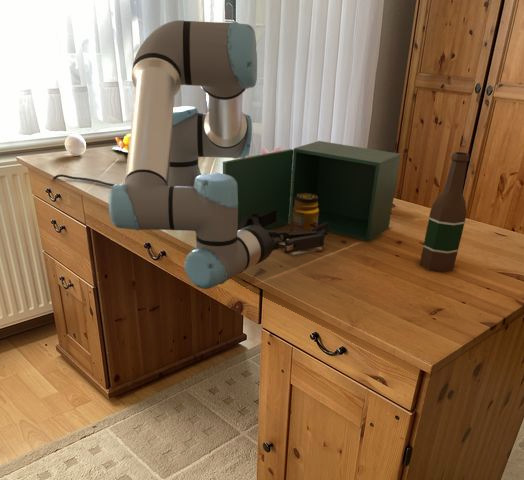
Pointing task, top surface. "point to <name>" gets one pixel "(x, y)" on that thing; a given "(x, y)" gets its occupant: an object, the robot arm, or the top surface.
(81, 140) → the white egg
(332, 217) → the green open cabinet
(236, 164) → the green cabinet door
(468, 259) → the top surface
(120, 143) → the yellow and blue toy
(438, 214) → the beer bottle
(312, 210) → the condiment
